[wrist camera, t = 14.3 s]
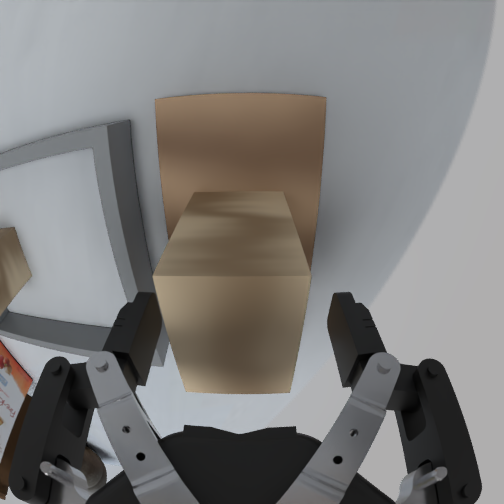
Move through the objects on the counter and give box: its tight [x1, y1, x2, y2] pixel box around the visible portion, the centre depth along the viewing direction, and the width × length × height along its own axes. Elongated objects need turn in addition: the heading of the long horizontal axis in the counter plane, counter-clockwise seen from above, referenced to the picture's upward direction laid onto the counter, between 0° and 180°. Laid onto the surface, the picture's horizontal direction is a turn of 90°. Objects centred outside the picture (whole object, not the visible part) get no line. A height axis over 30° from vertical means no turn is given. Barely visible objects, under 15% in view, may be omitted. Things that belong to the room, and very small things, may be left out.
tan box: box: [153, 191, 311, 394], centre depth 14 cm, size 5×7×8 cm
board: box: [155, 93, 326, 270], centre depth 18 cm, size 18×9×1 cm, turn 0°
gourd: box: [81, 446, 107, 496], centre depth 40 cm, size 25×25×17 cm
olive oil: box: [0, 394, 32, 500], centre depth 25 cm, size 11×11×25 cm
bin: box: [0, 120, 169, 367], centre depth 17 cm, size 18×22×3 cm
